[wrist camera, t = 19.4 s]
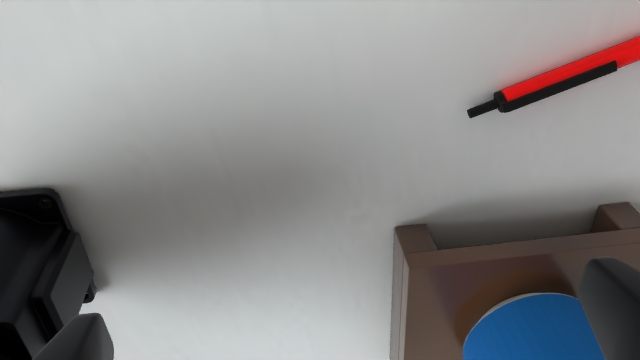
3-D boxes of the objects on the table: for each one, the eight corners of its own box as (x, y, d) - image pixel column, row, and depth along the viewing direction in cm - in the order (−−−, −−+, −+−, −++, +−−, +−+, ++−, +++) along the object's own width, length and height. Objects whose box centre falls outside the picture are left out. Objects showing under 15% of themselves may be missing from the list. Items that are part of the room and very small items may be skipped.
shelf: (389, 358, 31) (401, 403, 29) (393, 226, 26) (408, 268, 23) (583, 334, 32) (611, 377, 29) (628, 201, 26) (668, 239, 24)
